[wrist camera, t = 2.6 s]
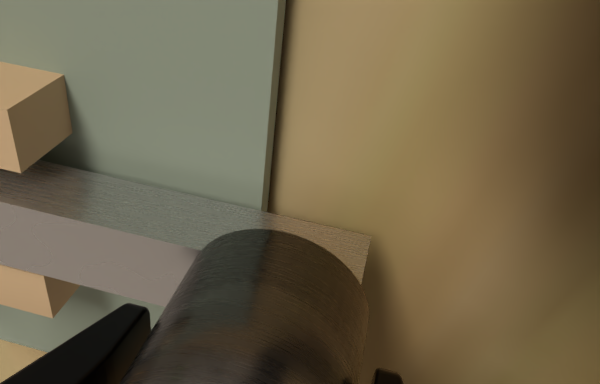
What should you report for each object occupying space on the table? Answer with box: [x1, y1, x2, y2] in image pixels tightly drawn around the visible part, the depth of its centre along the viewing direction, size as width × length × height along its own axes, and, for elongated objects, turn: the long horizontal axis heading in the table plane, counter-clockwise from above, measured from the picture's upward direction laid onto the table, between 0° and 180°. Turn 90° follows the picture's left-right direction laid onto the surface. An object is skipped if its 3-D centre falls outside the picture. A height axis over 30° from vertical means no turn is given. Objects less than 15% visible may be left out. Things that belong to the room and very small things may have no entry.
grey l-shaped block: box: [0, 160, 371, 384], centre depth 10 cm, size 12×4×6 cm, turn 84°
